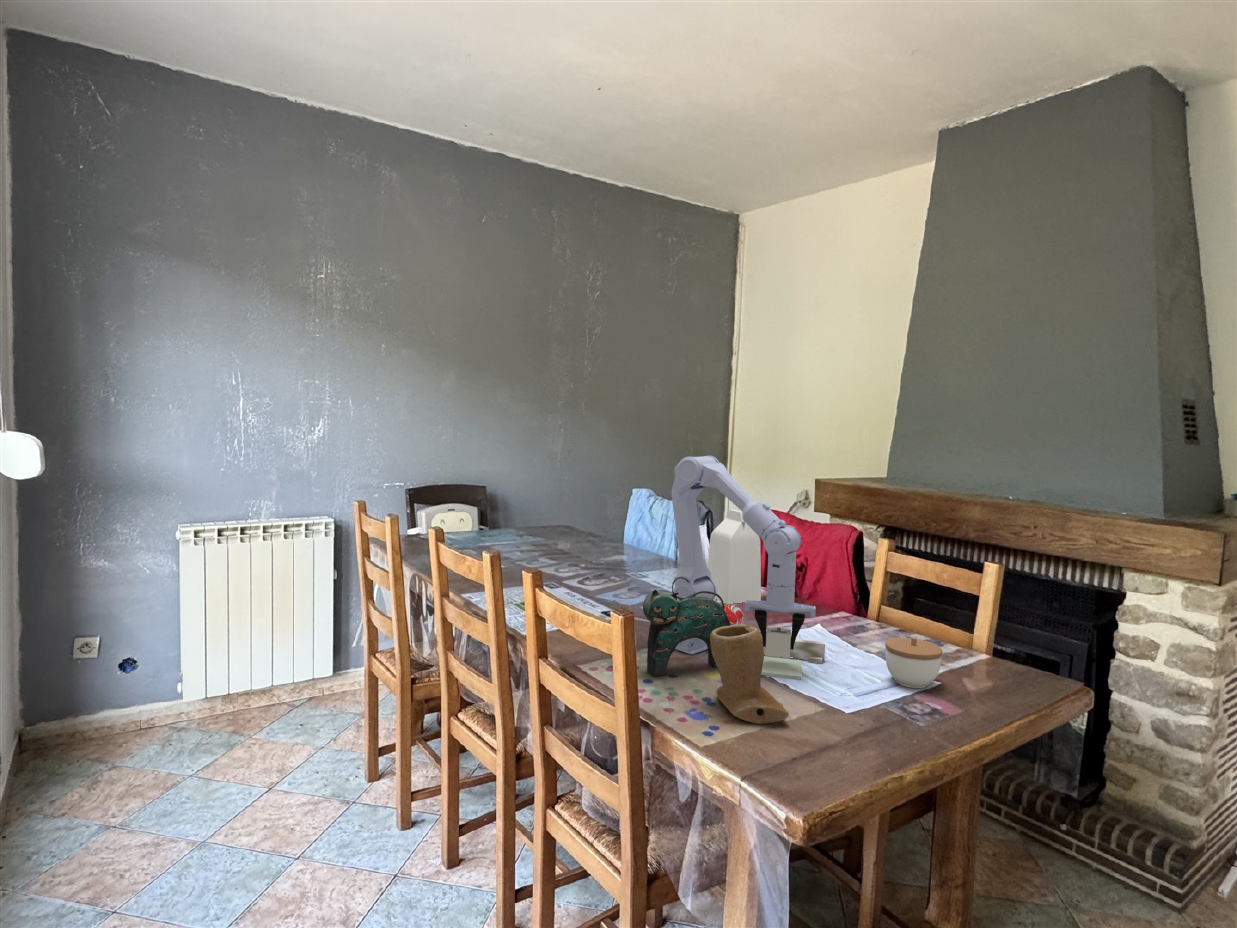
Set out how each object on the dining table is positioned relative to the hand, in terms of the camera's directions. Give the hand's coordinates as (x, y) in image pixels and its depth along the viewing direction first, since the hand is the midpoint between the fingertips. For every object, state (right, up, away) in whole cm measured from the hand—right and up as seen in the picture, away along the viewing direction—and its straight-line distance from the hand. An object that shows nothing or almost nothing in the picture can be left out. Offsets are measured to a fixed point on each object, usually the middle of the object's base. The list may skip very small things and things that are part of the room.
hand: (778, 646), depth 149 cm
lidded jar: (+26, -6, -6) cm, 27 cm away
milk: (0, -1, +57) cm, 57 cm away
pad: (0, -5, 0) cm, 5 cm away
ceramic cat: (-20, -5, -1) cm, 21 cm away
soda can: (-6, +1, +24) cm, 25 cm away
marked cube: (0, -2, 0) cm, 2 cm away
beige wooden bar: (+2, -4, +8) cm, 9 cm away
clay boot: (-11, -6, -21) cm, 25 cm away
